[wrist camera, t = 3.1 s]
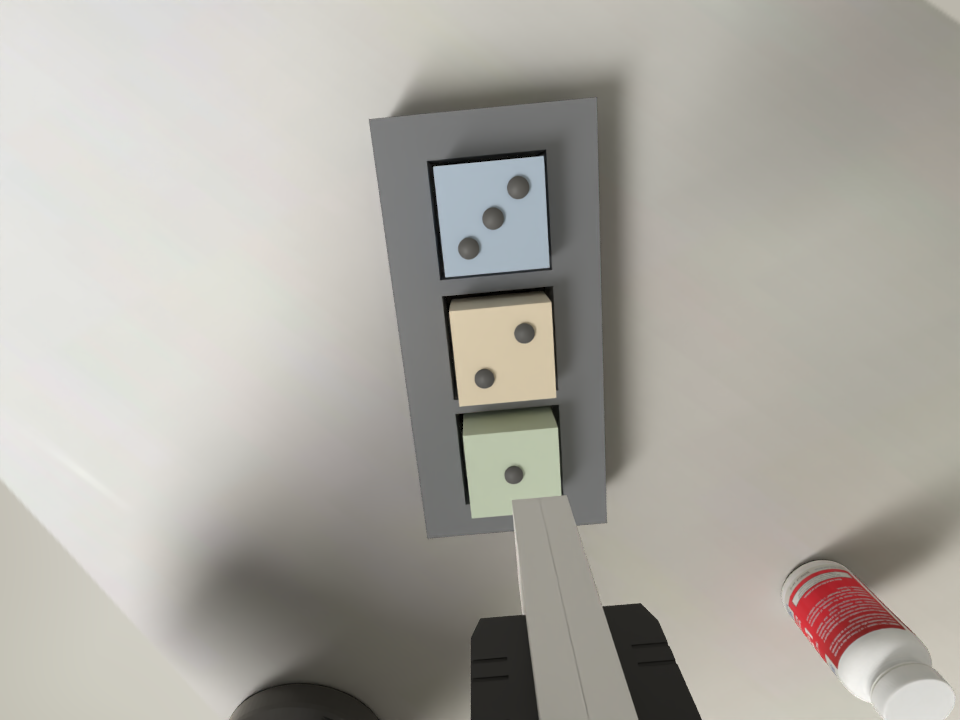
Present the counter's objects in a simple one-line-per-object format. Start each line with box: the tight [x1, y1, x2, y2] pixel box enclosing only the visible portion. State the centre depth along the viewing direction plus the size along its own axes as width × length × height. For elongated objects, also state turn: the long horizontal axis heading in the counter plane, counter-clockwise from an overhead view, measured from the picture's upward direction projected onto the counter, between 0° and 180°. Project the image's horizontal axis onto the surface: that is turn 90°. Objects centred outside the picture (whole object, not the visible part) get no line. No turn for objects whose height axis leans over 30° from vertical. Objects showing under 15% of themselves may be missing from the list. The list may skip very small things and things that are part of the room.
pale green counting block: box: [463, 405, 561, 518], centre depth 36 cm, size 6×6×4 cm
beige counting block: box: [449, 291, 556, 407], centre depth 34 cm, size 6×6×4 cm
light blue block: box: [433, 156, 550, 277], centre depth 31 cm, size 6×6×4 cm
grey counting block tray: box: [369, 97, 607, 538], centre depth 36 cm, size 13×28×4 cm, turn 5°
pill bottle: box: [781, 560, 956, 720], centre depth 40 cm, size 6×6×11 cm
